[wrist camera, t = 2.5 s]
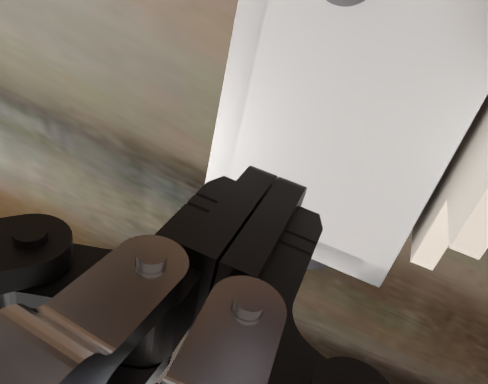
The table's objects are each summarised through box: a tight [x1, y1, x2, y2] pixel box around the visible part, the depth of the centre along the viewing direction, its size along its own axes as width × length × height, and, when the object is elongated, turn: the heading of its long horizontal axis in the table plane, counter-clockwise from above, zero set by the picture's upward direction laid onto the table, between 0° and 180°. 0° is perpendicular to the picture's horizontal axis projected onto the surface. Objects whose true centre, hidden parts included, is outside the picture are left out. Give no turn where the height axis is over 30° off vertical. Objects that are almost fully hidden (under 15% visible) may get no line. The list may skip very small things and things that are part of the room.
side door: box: [410, 95, 488, 271], centre depth 18 cm, size 11×1×13 cm, turn 168°
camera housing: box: [205, 0, 488, 287], centre depth 22 cm, size 18×10×11 cm, turn 168°
